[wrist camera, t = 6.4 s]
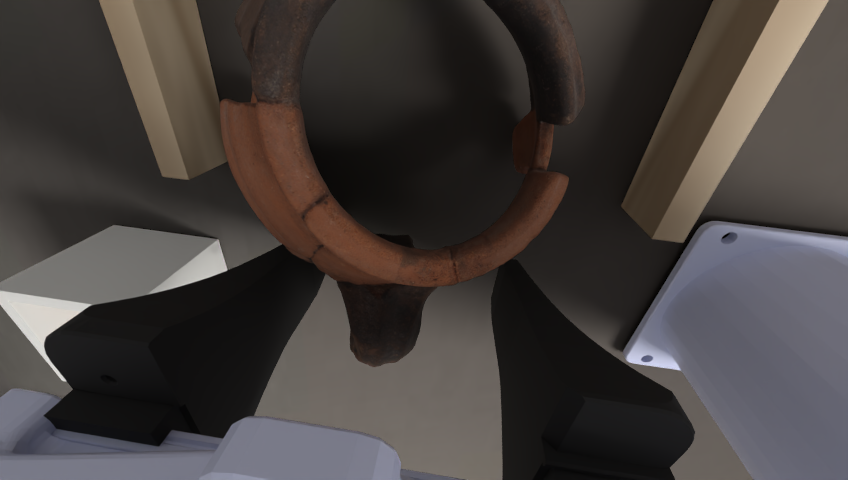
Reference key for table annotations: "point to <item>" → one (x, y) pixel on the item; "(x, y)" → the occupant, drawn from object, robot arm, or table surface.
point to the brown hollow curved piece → (335, 228)
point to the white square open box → (104, 276)
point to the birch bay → (660, 166)
